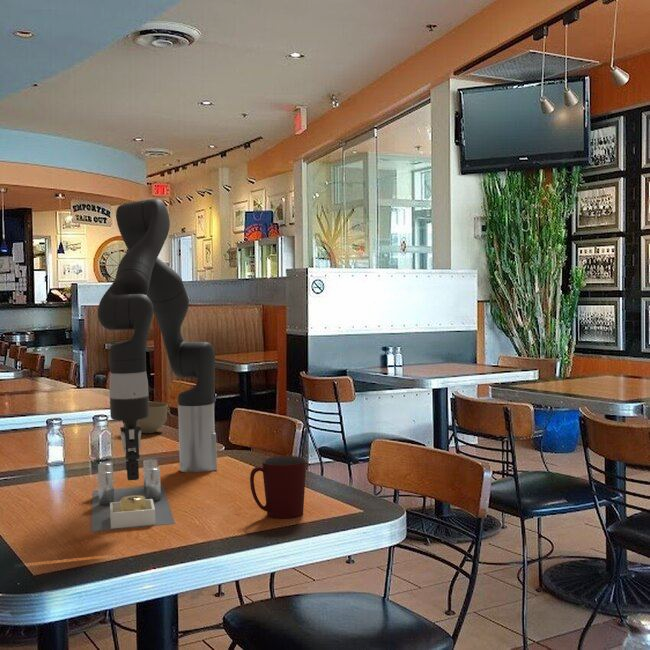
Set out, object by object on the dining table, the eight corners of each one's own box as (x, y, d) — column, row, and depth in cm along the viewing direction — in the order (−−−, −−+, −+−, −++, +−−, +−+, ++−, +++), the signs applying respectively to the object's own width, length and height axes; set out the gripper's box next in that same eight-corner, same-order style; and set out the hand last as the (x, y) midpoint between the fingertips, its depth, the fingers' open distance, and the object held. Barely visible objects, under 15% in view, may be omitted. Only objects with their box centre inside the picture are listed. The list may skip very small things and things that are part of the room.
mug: (261, 525, 159) (260, 469, 158) (242, 514, 166) (241, 461, 166) (314, 515, 165) (313, 461, 164) (294, 505, 172) (292, 454, 172)
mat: (163, 486, 192) (163, 484, 192) (175, 526, 159) (175, 523, 159) (93, 492, 188) (93, 490, 188) (90, 534, 155) (90, 531, 155)
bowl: (164, 435, 262) (163, 405, 262) (125, 436, 262) (124, 405, 262) (172, 429, 275) (171, 399, 274) (135, 429, 275) (134, 400, 274)
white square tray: (152, 513, 167) (152, 498, 167) (155, 524, 159) (155, 509, 159) (110, 517, 165) (110, 502, 165) (110, 528, 157) (110, 513, 157)
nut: (145, 513, 165) (144, 494, 165) (145, 520, 160) (145, 500, 160) (121, 515, 164) (120, 496, 163) (121, 522, 159) (120, 502, 159)
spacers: (157, 488, 188) (157, 458, 188) (161, 501, 177) (160, 469, 176) (99, 493, 185) (98, 463, 185) (98, 506, 173) (97, 474, 173)
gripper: (150, 398, 155) (153, 481, 156) (146, 389, 169) (149, 465, 170) (110, 400, 153) (113, 485, 154) (109, 391, 167) (112, 468, 168)
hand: (132, 474), depth 162 cm, fingers open, 8 cm apart
